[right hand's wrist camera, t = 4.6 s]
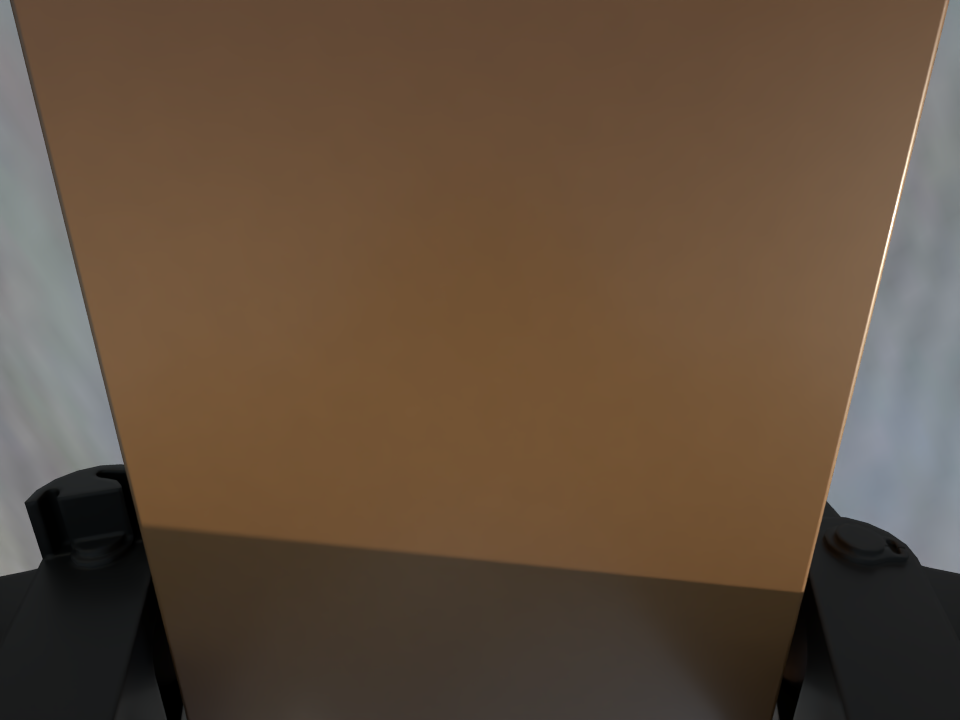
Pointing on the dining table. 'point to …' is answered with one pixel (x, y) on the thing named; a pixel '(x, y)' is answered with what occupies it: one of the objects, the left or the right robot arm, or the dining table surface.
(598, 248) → the box
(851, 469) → the dining table surface
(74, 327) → the dining table surface
